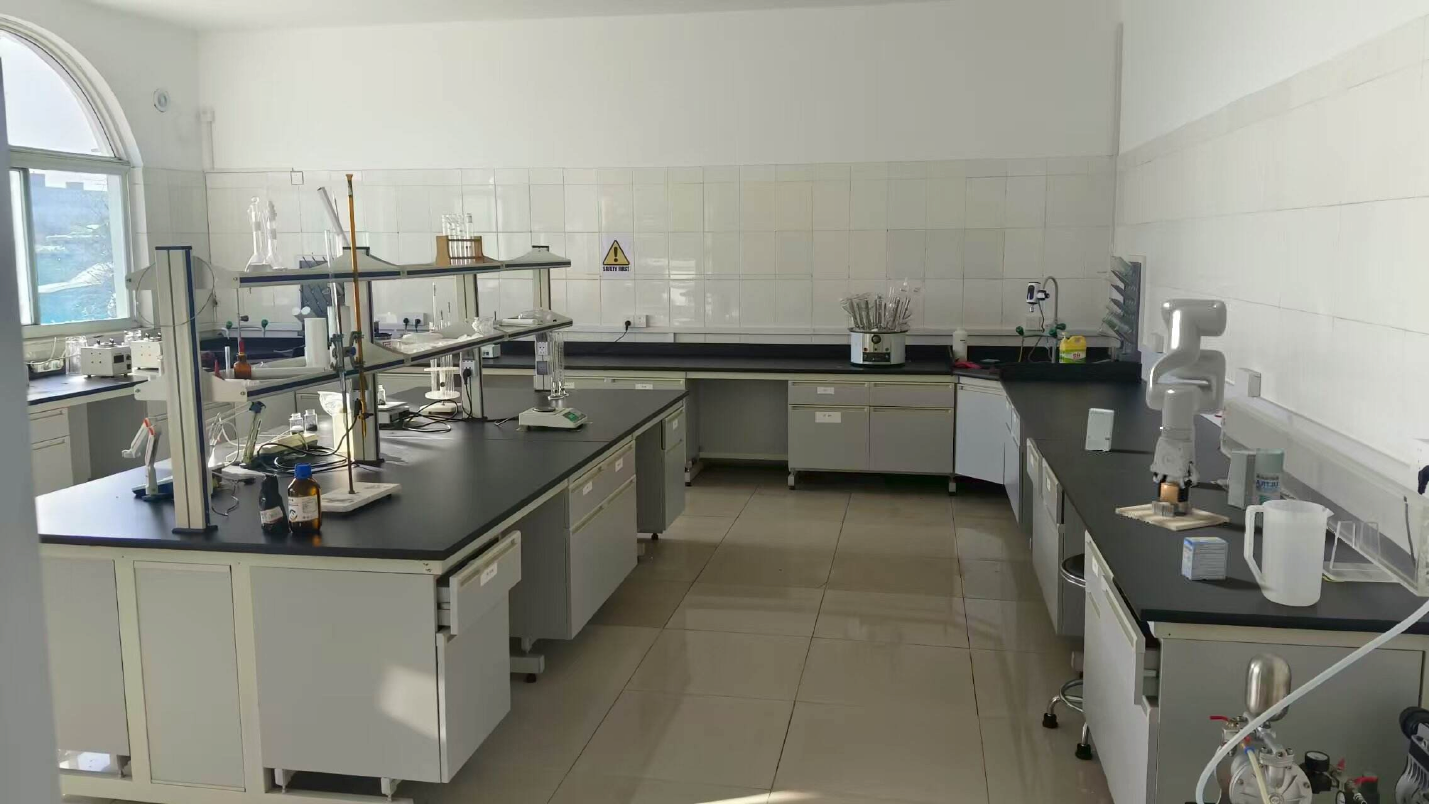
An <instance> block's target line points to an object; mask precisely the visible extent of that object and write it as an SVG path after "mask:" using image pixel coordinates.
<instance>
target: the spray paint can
mask: <svg viewBox="0 0 1429 804" xmlns="http://www.w3.org/2000/svg"><path fill="white" fill-rule="evenodd" d="M1255 451H1256V461H1255V474H1254V488H1253V502H1252V504H1254V505H1261V504H1263V503H1264V502H1266V501H1268V500H1276V499H1280V500H1281V491H1282V481H1283V472H1284V471H1283V469H1284V461H1285V460H1284V459H1285V452H1284V451H1283V450H1279V449H1272V448H1258V449H1256V450H1255ZM1256 523H1257V525H1258V526H1260V527H1259V528H1260V529H1263V528H1262V513H1261V512H1259V514H1257V516H1256Z"/></svg>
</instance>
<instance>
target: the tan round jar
mask: <svg viewBox="0 0 1429 804" xmlns="http://www.w3.org/2000/svg"><path fill="white" fill-rule="evenodd" d="M1179 488H1181V486H1180V482H1176V481H1166V482H1164V483H1162V484H1161V497H1159V498H1160V502H1166V503H1174V504H1180V502H1178V489H1179ZM1181 503H1184V502H1181Z"/></svg>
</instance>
